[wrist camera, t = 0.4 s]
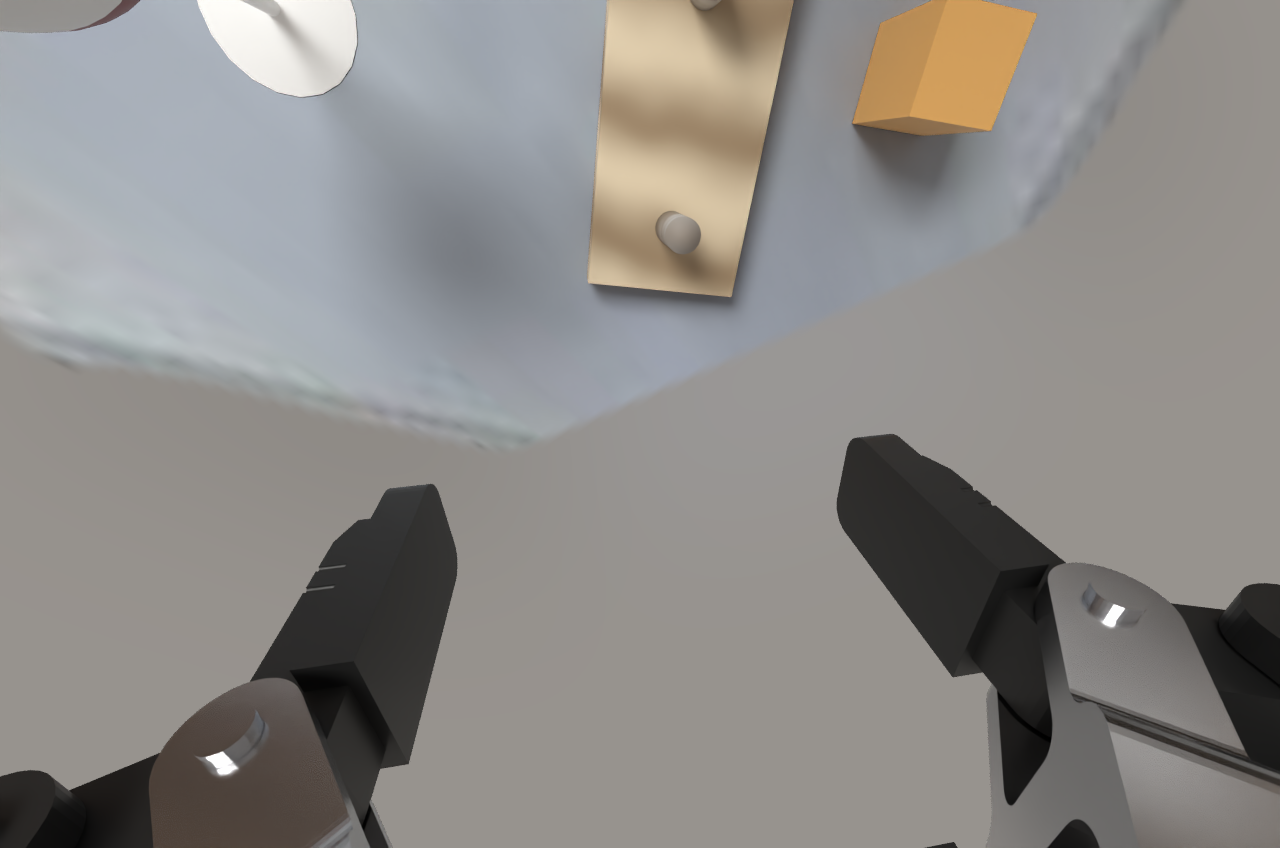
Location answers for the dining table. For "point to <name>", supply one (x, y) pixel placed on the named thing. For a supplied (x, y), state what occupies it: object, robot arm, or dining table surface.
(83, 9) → the wineglass
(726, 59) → the wooden peg rack
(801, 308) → the dining table surface
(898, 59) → the wooden toy cube
